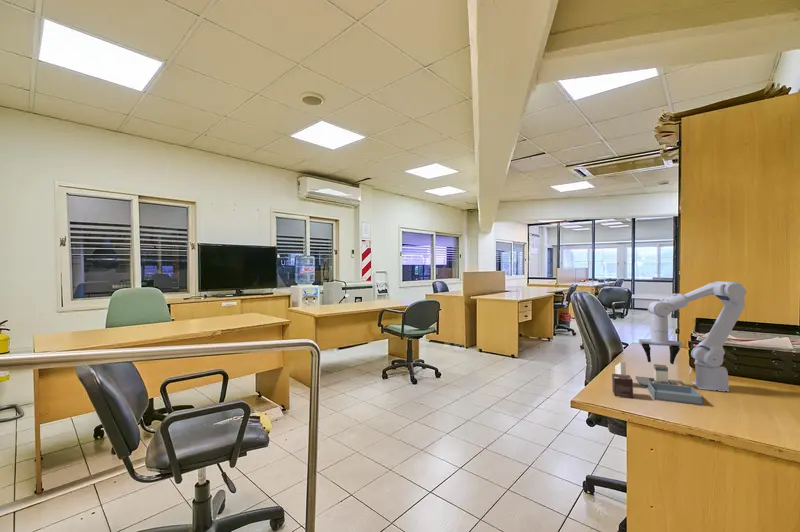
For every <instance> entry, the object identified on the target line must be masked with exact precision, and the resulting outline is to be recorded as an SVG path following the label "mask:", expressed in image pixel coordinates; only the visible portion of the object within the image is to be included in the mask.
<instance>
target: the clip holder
mask: <svg viewBox="0 0 800 532" xmlns="http://www.w3.org/2000/svg"><path fill="white" fill-rule="evenodd" d="M635 380H636V382H637V383H638V385H639V386H640V387H642V388H648V382H650V383H653V382H654V377H646V376H639V375H638V376H635ZM659 384H669V385H678V386H687V385H686V384H685V383H684V382H683V381H682V380H677V379H668V381H667V380H659Z"/></svg>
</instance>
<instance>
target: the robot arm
mask: <svg viewBox="0 0 800 532" xmlns="http://www.w3.org/2000/svg"><path fill="white" fill-rule="evenodd" d="M746 294H747V289H746V288H745V286H744V285H743V284H742V283H740V282H739V281H723V280H716V281H713V282H709V283H707V284H706V285H704V286H700V287H698V288H696V289H694V290H692V291H689V292H687V293H685V294H683V293H676V292H675V293H671V295H670V296H668V297H666V298H660V299H659V301H656V300H655V301H651V302H650V304H649V305H648V307H647V311H648V313H649V315H650V335H651V337H650V338H651V339H650V338H648V339H647V338H645V339H644V338H643V339H641V338H638V344H639V345H640V346H642V349H643V350H644V353H645V356H646V359H647V360H646V361H647V362H648V363H651V361H652V359H651V358H652V357H651V348H652V347H651V346H662V347H663V346H665V347H669V362H670V363H669V364H671V365H675V361H676V360H675V359H676V357H677V355H678V354H679V352H680V351H681V348H683V342H682V341H677V340H669V319H668V318H669V315H671V313H672V312H675V311H677V310H679V309H682V308H685V307H687V306H688V305H689V304H690V302H693V301H695V300H699V299H702V298H705V297H708V296H715V297H716V298H717V299H719V300H720V302H721V303H722V305H723V308H722V309H721V310H720V313H719V314H718V316H717V318H716V319H715V321H714V324H713V325H712V327H711V329H710V331H709V333H708V334H707V336H706V338H705V339H704V340H702V341H699V343H698V344H697V345H696V346H695V347H693V348H692V350H691V353H690V355H691V357H692V358H693V360H694V364H695V365H694V366H695V367H694V368H695V381H691V383H692V384H693V385H694V386H695V387H696V388H697V389H700V390H707V391H708V390H709V391H716V390H718V392H725V391H727V392H728V393H729V392H730V389H729V388H730V387H729V372H728V370H727V369H728V368H726V367H725V366H722V365H723V363H724V355H725V354H726V351H725V349H724V345H725V342H726V341H727V340H728V337H729V336H730V334H731V332H732V331H733V328H734V327H735V325H736V323H737V321H738V319H739V318H740V316H741V314H742V313H743V311H744V309H745V305H746V304H745V296H746ZM727 392H726V393H727Z"/></svg>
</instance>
